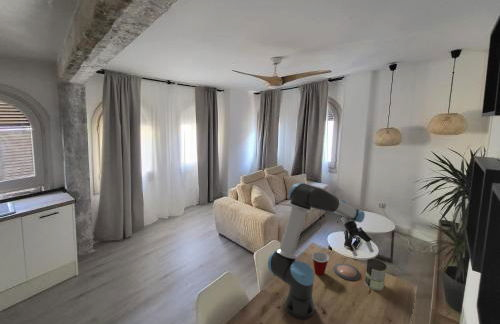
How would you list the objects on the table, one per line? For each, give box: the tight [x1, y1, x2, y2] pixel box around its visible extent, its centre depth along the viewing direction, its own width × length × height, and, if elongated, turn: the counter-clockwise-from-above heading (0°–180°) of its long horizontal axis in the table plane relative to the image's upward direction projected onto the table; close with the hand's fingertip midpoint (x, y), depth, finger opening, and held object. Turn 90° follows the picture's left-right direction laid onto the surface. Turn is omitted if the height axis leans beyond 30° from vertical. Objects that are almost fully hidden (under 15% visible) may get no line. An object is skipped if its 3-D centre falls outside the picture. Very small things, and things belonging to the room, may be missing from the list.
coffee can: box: [364, 258, 387, 291], centre depth 142 cm, size 10×10×14 cm
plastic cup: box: [311, 251, 330, 276], centre depth 152 cm, size 11×11×12 cm
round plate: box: [333, 262, 361, 281], centre depth 154 cm, size 16×16×1 cm
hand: (364, 254), depth 149 cm, fingers open, 13 cm apart
